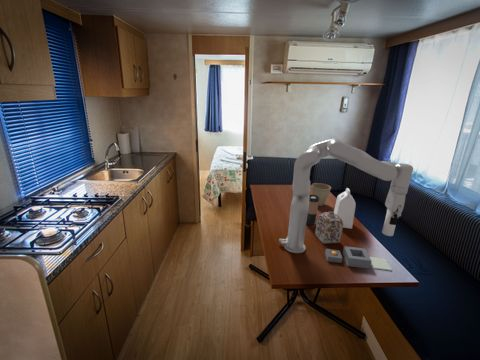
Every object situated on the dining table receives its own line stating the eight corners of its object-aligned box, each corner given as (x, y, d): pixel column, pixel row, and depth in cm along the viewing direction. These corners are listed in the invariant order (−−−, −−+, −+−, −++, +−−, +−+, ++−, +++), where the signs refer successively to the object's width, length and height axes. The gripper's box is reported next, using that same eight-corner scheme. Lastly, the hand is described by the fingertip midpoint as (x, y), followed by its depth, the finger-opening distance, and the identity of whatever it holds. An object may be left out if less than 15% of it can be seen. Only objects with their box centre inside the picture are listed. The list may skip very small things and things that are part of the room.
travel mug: (317, 225, 182) (321, 198, 175) (307, 226, 180) (311, 199, 173) (311, 220, 189) (315, 194, 182) (302, 221, 187) (305, 195, 180)
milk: (352, 228, 179) (359, 193, 171) (334, 226, 181) (340, 191, 173) (348, 220, 190) (355, 187, 182) (332, 218, 192) (338, 185, 184)
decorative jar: (340, 243, 161) (345, 216, 155) (322, 244, 159) (327, 217, 153) (330, 233, 172) (335, 208, 166) (314, 234, 170) (318, 209, 164)
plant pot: (330, 208, 210) (333, 189, 205) (312, 207, 210) (314, 188, 205) (325, 200, 225) (327, 183, 219) (307, 200, 225) (310, 182, 220)
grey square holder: (347, 265, 139) (348, 257, 138) (342, 253, 150) (344, 246, 148) (369, 268, 138) (371, 260, 136) (363, 256, 148) (365, 248, 147)
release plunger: (330, 259, 144) (331, 253, 143) (329, 255, 147) (330, 250, 146) (336, 259, 144) (337, 254, 143) (335, 256, 147) (336, 251, 146)
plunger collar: (327, 261, 142) (328, 256, 141) (325, 253, 150) (325, 248, 149) (341, 263, 141) (342, 258, 140) (338, 254, 149) (339, 250, 148)
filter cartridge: (384, 235, 134) (391, 207, 129) (380, 230, 139) (386, 202, 134) (395, 236, 133) (402, 208, 128) (391, 231, 138) (398, 203, 133)
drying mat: (373, 268, 138) (374, 267, 138) (367, 257, 148) (368, 256, 147) (391, 270, 137) (392, 269, 137) (384, 259, 146) (385, 258, 146)
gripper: (384, 182, 137) (377, 213, 143) (397, 194, 121) (389, 229, 127) (399, 183, 136) (391, 215, 142) (415, 195, 120) (405, 230, 126)
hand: (390, 221), depth 134 cm, fingers closed on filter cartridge, 5 cm apart
